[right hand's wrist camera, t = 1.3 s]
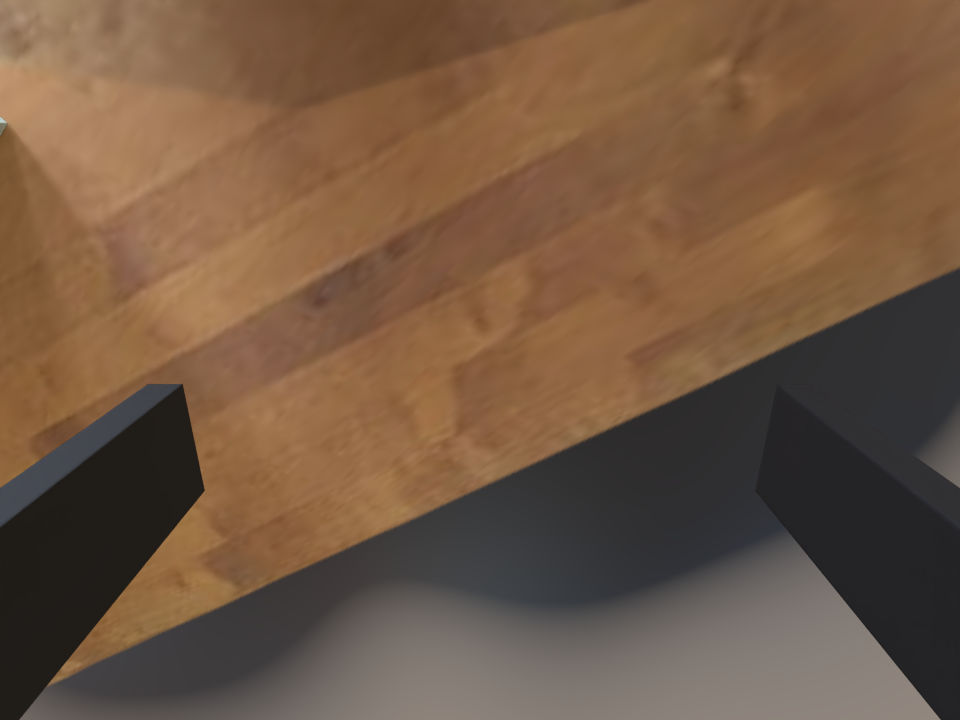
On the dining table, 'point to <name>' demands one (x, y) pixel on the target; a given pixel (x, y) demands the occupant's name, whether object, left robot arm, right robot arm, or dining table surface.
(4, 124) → the cabinet
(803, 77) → the dining table surface
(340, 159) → the dining table surface
